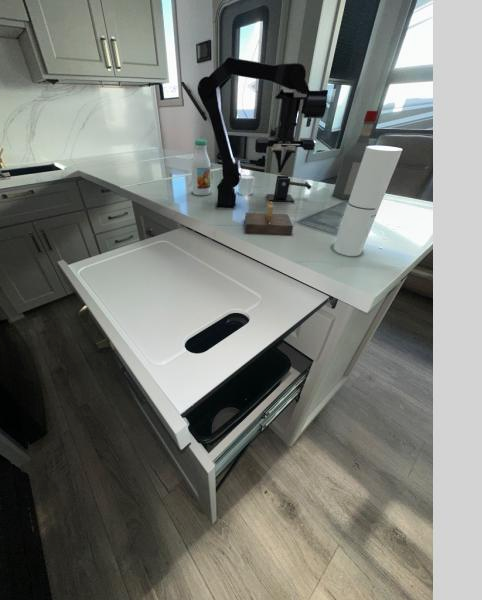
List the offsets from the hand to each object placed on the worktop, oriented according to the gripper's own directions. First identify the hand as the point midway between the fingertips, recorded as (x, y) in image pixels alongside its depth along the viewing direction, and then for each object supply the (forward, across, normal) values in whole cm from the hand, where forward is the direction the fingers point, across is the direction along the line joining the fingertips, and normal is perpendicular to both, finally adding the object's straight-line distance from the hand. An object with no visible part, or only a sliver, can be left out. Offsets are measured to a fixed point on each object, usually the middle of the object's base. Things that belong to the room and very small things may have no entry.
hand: (279, 172), depth 92 cm
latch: (+8, -9, -12) cm, 17 cm away
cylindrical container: (+13, -17, +31) cm, 38 cm away
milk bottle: (+13, +29, -18) cm, 37 cm away
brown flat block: (+13, +4, +18) cm, 22 cm away
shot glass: (+13, +10, -19) cm, 25 cm away
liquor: (+13, -32, -18) cm, 39 cm away
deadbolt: (+10, +4, +18) cm, 21 cm away
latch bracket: (+13, -4, -12) cm, 18 cm away
